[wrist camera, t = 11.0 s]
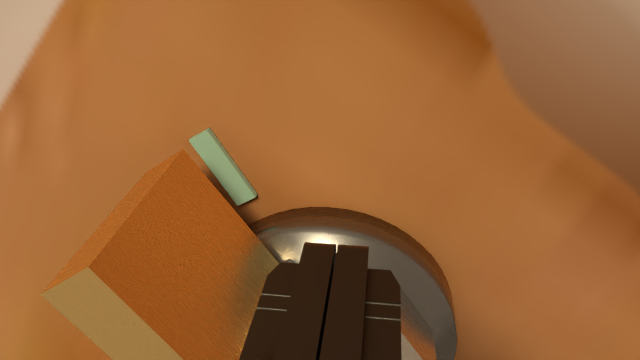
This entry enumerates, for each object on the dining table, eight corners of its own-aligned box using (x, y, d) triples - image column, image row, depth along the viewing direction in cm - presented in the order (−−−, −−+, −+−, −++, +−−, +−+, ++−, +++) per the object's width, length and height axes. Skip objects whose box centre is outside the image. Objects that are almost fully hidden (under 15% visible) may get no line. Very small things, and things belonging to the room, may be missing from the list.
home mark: (257, 193, 23) (255, 197, 23) (239, 202, 23) (237, 205, 23) (209, 127, 21) (207, 130, 21) (191, 137, 22) (188, 140, 22)
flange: (469, 380, 27) (486, 498, 22) (256, 397, 30) (227, 505, 25) (428, 185, 22) (439, 280, 16) (173, 230, 24) (114, 322, 19)
